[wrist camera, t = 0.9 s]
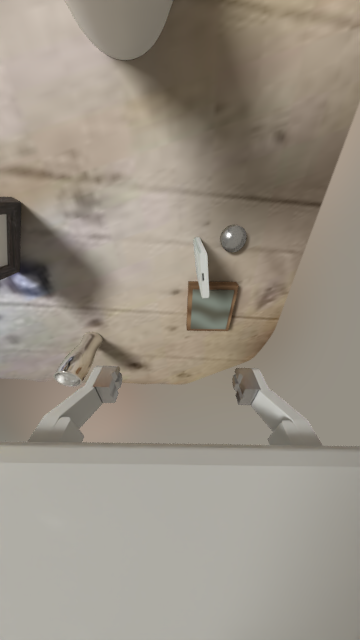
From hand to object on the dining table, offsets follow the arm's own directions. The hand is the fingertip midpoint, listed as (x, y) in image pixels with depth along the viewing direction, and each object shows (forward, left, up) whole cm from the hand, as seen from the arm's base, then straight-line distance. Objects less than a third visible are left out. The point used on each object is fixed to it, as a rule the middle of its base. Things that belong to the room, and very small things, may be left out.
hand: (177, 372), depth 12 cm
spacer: (-3, +11, -32) cm, 34 cm away
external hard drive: (+1, +4, -32) cm, 32 cm away
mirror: (+14, +8, -32) cm, 36 cm away
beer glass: (+27, -28, -32) cm, 50 cm away
